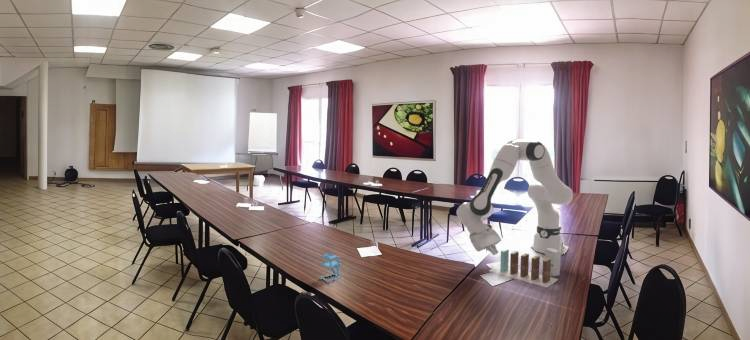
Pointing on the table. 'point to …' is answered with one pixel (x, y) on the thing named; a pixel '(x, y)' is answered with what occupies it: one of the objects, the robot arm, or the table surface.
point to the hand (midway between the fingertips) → (496, 253)
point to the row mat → (526, 278)
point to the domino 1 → (504, 260)
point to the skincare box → (554, 260)
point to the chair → (331, 265)
